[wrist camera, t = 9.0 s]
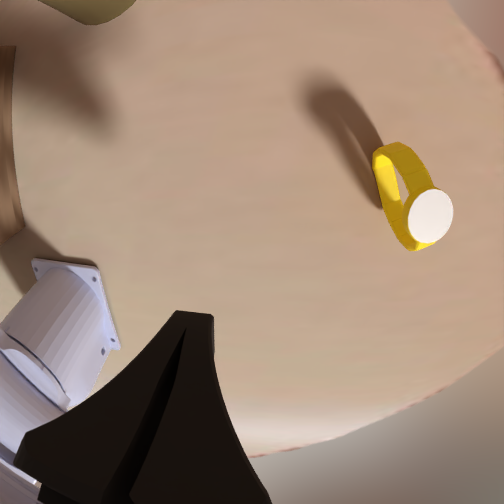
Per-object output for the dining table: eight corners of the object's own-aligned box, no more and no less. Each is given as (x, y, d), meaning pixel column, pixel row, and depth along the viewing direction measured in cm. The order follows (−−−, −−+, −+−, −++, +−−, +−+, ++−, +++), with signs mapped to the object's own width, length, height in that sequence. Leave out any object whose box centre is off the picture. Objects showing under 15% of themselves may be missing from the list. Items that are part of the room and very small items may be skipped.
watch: (353, 147, 16) (392, 159, 10) (392, 135, 15) (442, 143, 10) (378, 233, 18) (415, 277, 12) (412, 220, 17) (457, 258, 12)
